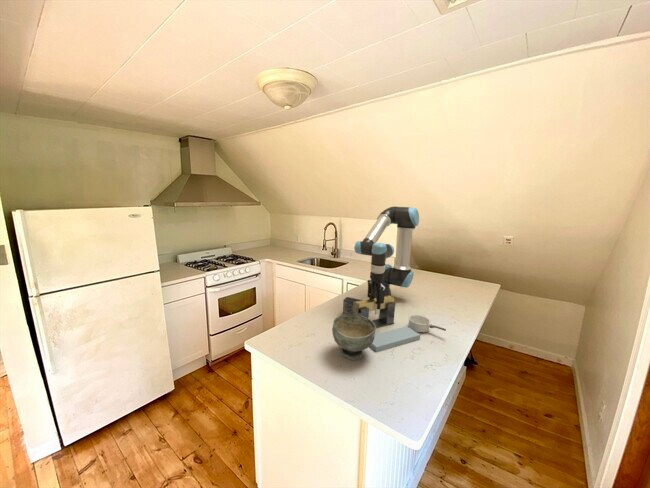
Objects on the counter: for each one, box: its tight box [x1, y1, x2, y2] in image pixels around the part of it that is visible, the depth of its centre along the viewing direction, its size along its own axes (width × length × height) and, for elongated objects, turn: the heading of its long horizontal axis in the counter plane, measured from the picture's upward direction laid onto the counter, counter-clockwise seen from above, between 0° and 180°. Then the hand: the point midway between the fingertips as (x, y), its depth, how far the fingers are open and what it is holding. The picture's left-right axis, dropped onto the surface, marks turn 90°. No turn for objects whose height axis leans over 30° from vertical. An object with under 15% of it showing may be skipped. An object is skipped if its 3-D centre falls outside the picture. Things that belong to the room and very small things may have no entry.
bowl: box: [331, 314, 377, 361], centre depth 122 cm, size 20×19×15 cm
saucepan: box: [408, 314, 447, 333], centre depth 146 cm, size 12×20×6 cm, turn 45°
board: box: [369, 325, 421, 353], centre depth 136 cm, size 10×28×2 cm, turn 117°
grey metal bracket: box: [353, 303, 396, 329], centre depth 151 cm, size 7×24×12 cm, turn 117°
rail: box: [353, 294, 397, 314], centre depth 149 cm, size 4×26×5 cm, turn 117°
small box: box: [342, 296, 363, 315], centre depth 161 cm, size 11×6×10 cm, turn 65°
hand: (374, 312), depth 150 cm, fingers closed on rail, 4 cm apart
